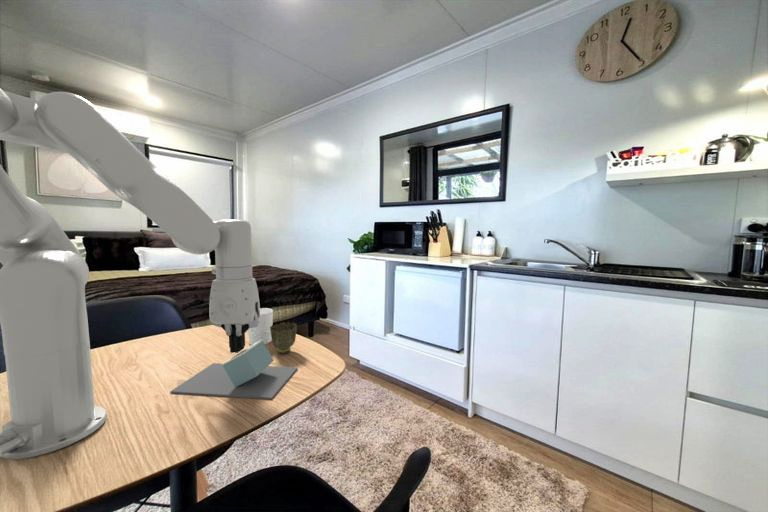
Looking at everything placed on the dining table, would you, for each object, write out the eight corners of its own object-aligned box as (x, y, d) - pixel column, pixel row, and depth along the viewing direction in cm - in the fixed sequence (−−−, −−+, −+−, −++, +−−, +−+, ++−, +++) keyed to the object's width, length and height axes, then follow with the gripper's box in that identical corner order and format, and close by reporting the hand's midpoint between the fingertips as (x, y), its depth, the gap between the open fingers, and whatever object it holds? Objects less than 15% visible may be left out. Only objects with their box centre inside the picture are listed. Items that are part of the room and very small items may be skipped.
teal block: (221, 364, 66) (235, 387, 66) (243, 352, 65) (257, 376, 66) (242, 350, 74) (254, 370, 74) (261, 339, 73) (273, 360, 74)
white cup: (278, 340, 96) (278, 310, 95) (257, 348, 90) (256, 316, 89) (263, 335, 100) (262, 306, 100) (241, 343, 94) (240, 312, 93)
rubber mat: (271, 399, 62) (271, 397, 62) (170, 393, 65) (170, 391, 65) (297, 369, 76) (297, 367, 76) (213, 364, 79) (213, 363, 78)
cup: (270, 349, 89) (270, 323, 89) (296, 345, 92) (295, 320, 91) (270, 359, 82) (269, 330, 82) (298, 355, 85) (297, 328, 84)
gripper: (192, 275, 65) (196, 355, 67) (257, 276, 64) (259, 358, 66) (214, 270, 73) (217, 343, 74) (273, 271, 72) (275, 345, 73)
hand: (237, 350), depth 70 cm, fingers closed
